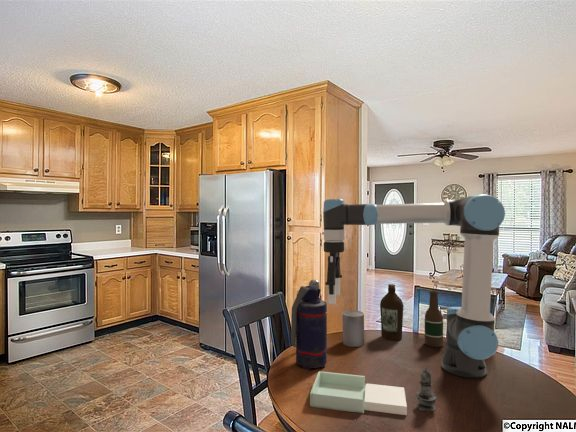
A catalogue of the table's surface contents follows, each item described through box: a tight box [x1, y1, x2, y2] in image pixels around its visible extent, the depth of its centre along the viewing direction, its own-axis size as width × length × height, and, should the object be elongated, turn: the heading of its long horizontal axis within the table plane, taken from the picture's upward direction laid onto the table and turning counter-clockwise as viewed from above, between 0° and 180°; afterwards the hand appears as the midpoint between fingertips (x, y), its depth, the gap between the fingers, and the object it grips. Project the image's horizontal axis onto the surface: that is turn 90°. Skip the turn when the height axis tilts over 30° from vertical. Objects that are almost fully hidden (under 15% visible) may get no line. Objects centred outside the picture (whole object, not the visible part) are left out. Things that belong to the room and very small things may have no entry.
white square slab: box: [364, 383, 408, 416], centre depth 112 cm, size 12×12×2 cm
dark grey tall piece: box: [415, 367, 438, 413], centre depth 109 cm, size 6×6×12 cm
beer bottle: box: [424, 289, 444, 348], centre depth 162 cm, size 8×8×24 cm
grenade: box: [290, 285, 328, 371], centre depth 140 cm, size 14×12×30 cm
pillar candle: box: [342, 309, 365, 348], centre depth 164 cm, size 10×10×15 cm
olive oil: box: [379, 283, 404, 342], centre depth 171 cm, size 11×11×25 cm
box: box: [309, 370, 366, 414], centre depth 116 cm, size 16×16×4 cm
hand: (334, 299), depth 133 cm, fingers open, 13 cm apart
